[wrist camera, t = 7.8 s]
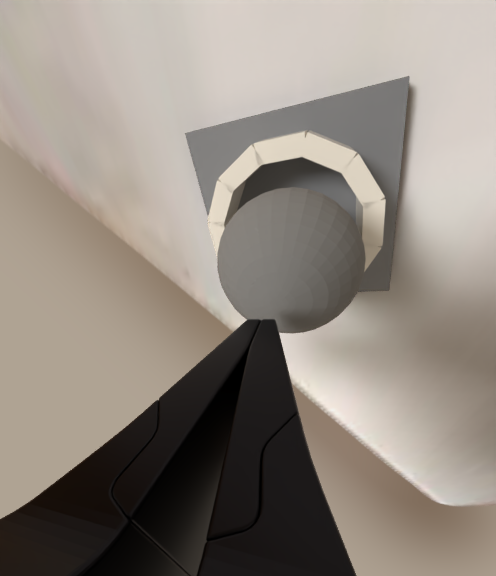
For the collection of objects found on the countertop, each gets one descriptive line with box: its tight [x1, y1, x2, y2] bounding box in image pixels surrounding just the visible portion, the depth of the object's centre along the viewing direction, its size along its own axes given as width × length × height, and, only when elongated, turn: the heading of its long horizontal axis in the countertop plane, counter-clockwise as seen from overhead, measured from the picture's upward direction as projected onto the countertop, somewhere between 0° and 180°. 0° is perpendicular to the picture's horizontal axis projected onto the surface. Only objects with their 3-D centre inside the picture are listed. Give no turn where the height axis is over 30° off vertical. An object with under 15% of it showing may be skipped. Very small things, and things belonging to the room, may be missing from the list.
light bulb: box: [217, 187, 366, 333], centre depth 13 cm, size 6×6×10 cm
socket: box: [185, 76, 409, 292], centre depth 16 cm, size 12×12×4 cm
